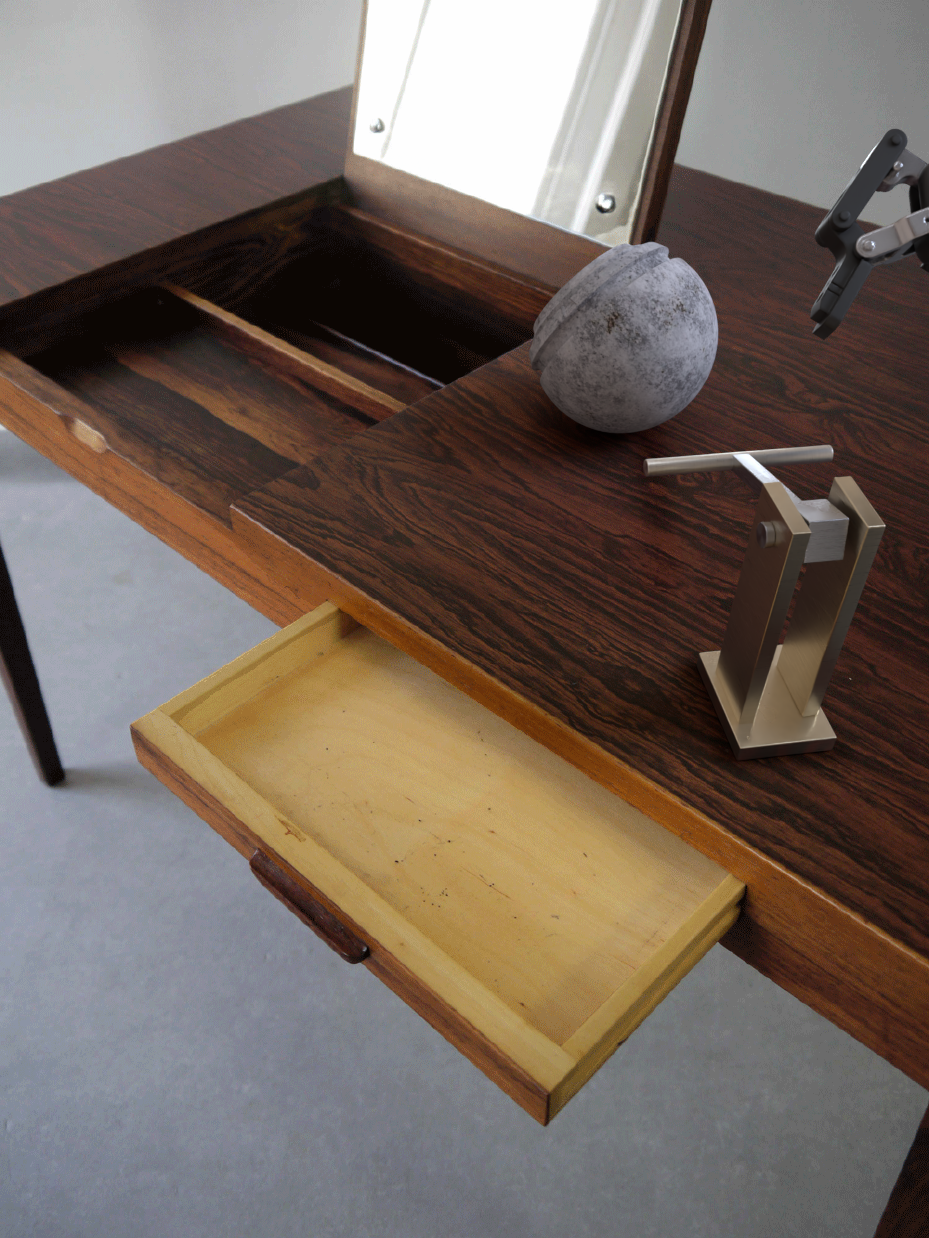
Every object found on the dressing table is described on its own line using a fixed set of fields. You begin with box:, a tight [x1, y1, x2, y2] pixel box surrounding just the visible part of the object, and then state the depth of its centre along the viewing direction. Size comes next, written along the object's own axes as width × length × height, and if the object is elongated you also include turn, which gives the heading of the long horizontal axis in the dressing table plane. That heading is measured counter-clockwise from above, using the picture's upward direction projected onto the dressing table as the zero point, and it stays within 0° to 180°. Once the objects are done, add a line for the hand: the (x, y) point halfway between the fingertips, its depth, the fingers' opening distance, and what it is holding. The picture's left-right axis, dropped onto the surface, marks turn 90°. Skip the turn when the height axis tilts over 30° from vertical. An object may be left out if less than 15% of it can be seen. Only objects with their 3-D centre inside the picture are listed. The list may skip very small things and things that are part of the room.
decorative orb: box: [528, 241, 719, 434], centre depth 84 cm, size 15×14×15 cm
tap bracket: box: [695, 475, 886, 762], centre depth 60 cm, size 8×6×16 cm
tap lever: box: [642, 444, 849, 564], centre depth 61 cm, size 13×12×2 cm
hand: (896, 376), depth 53 cm, fingers open, 8 cm apart
